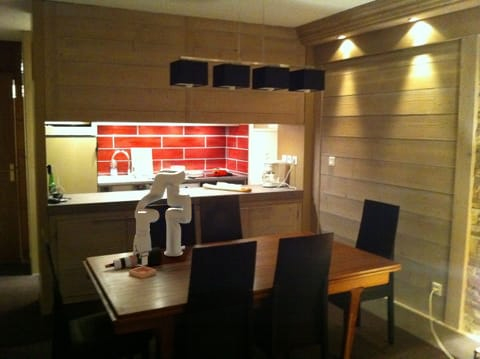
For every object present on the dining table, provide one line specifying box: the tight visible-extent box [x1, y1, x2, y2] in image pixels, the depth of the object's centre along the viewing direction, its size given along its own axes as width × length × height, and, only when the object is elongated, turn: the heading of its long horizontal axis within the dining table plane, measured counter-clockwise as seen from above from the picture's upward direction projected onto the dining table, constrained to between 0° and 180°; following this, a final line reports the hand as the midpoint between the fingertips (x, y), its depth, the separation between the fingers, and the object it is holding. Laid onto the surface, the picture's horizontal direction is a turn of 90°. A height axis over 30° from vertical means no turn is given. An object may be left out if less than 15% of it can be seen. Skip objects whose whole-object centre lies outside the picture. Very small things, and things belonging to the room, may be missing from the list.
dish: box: [128, 265, 157, 280], centre depth 263 cm, size 11×11×3 cm
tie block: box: [137, 252, 148, 267], centre depth 262 cm, size 4×4×7 cm
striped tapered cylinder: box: [104, 246, 163, 270], centre depth 276 cm, size 10×34×10 cm, turn 114°
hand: (142, 263), depth 262 cm, fingers closed on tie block, 4 cm apart
